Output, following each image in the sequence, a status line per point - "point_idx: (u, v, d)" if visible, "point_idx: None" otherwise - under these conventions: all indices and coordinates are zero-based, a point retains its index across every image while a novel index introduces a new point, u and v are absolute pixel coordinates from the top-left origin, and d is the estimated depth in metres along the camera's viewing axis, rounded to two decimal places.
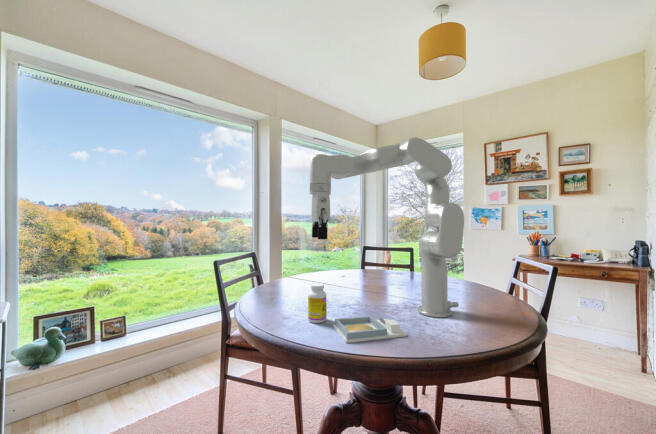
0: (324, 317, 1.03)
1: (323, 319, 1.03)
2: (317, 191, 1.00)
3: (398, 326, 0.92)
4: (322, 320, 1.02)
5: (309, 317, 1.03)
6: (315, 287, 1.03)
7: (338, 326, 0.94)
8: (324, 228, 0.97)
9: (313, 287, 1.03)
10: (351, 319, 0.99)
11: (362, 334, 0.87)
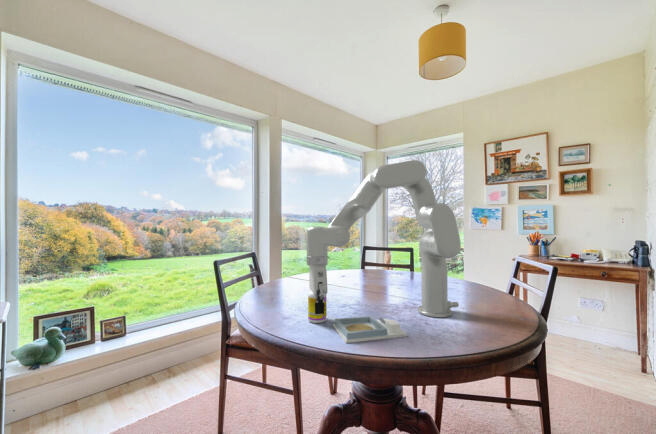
0: (324, 317, 1.03)
1: (323, 319, 1.03)
2: (314, 264, 1.02)
3: (398, 326, 0.92)
4: (322, 320, 1.02)
5: (309, 317, 1.03)
6: None
7: (338, 326, 0.94)
8: (321, 303, 1.01)
9: None
10: (351, 319, 0.99)
11: (362, 334, 0.87)
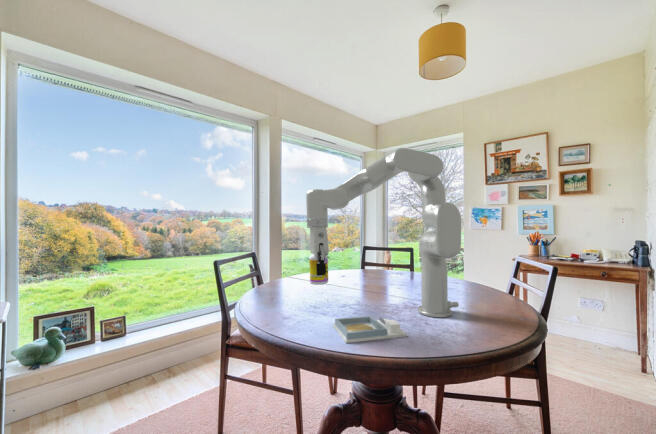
0: (326, 279, 1.03)
1: (325, 281, 1.03)
2: (314, 226, 1.02)
3: (398, 326, 0.92)
4: (324, 282, 1.02)
5: (311, 279, 1.03)
6: None
7: (338, 326, 0.94)
8: (322, 264, 1.01)
9: None
10: (351, 319, 0.99)
11: (362, 334, 0.87)
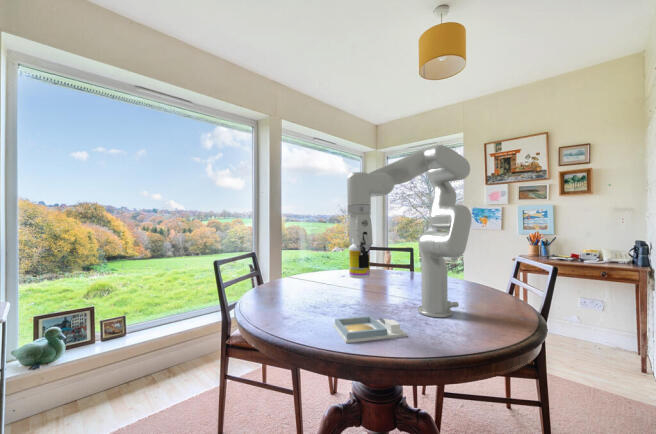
0: (368, 272, 0.92)
1: (367, 274, 0.92)
2: (357, 213, 0.91)
3: (398, 326, 0.92)
4: (366, 275, 0.92)
5: (351, 272, 0.93)
6: None
7: (338, 326, 0.94)
8: (365, 256, 0.90)
9: None
10: (351, 319, 0.99)
11: (362, 334, 0.87)
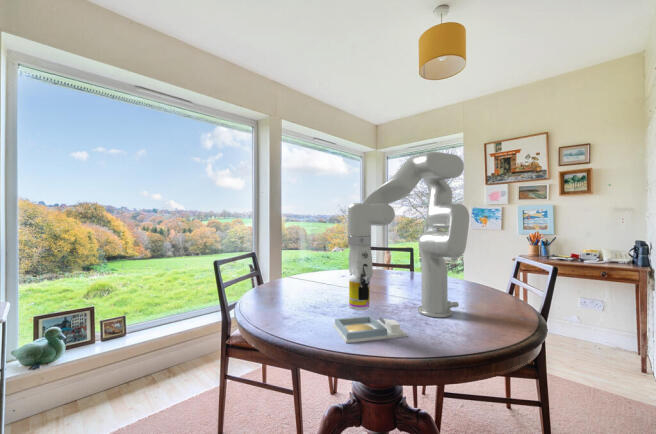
0: (368, 304, 0.92)
1: (367, 306, 0.92)
2: (357, 245, 0.91)
3: (398, 326, 0.92)
4: (366, 307, 0.91)
5: (351, 304, 0.92)
6: None
7: (338, 326, 0.94)
8: (365, 288, 0.90)
9: None
10: (351, 319, 0.99)
11: (362, 334, 0.87)
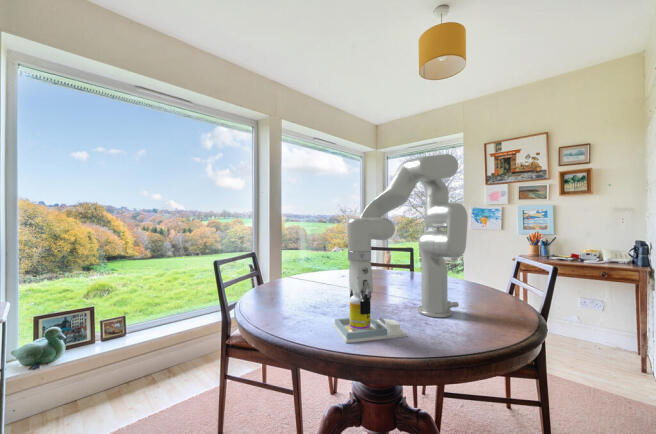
0: (368, 325, 0.92)
1: (367, 327, 0.92)
2: (358, 260, 0.91)
3: (398, 326, 0.92)
4: (366, 328, 0.92)
5: (352, 325, 0.93)
6: None
7: (338, 326, 0.94)
8: (367, 302, 0.89)
9: (356, 292, 0.93)
10: None
11: (362, 334, 0.87)
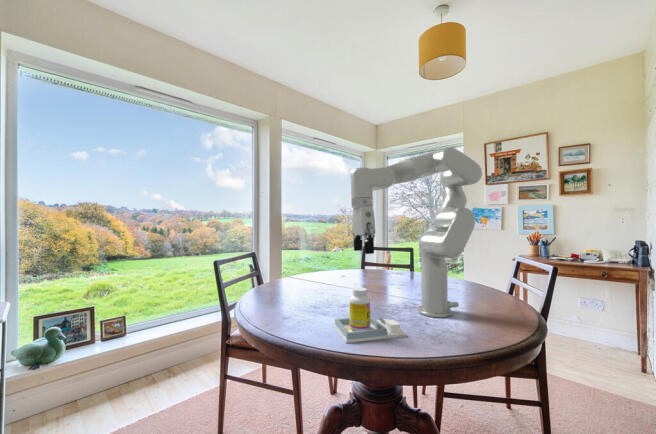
0: (368, 325, 0.92)
1: (367, 327, 0.92)
2: (361, 205, 0.99)
3: (398, 326, 0.92)
4: (366, 328, 0.92)
5: (352, 325, 0.93)
6: (358, 292, 0.92)
7: (338, 326, 0.94)
8: (371, 242, 0.97)
9: (356, 292, 0.93)
10: None
11: (362, 334, 0.87)
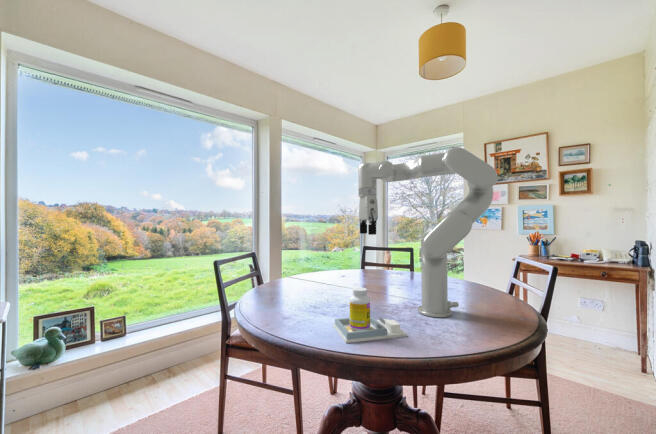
0: (368, 325, 0.92)
1: (367, 327, 0.92)
2: (366, 194, 1.18)
3: (398, 326, 0.92)
4: (366, 328, 0.92)
5: (352, 325, 0.93)
6: (358, 292, 0.92)
7: (338, 326, 0.94)
8: (374, 225, 1.16)
9: (356, 292, 0.93)
10: None
11: (362, 334, 0.87)
